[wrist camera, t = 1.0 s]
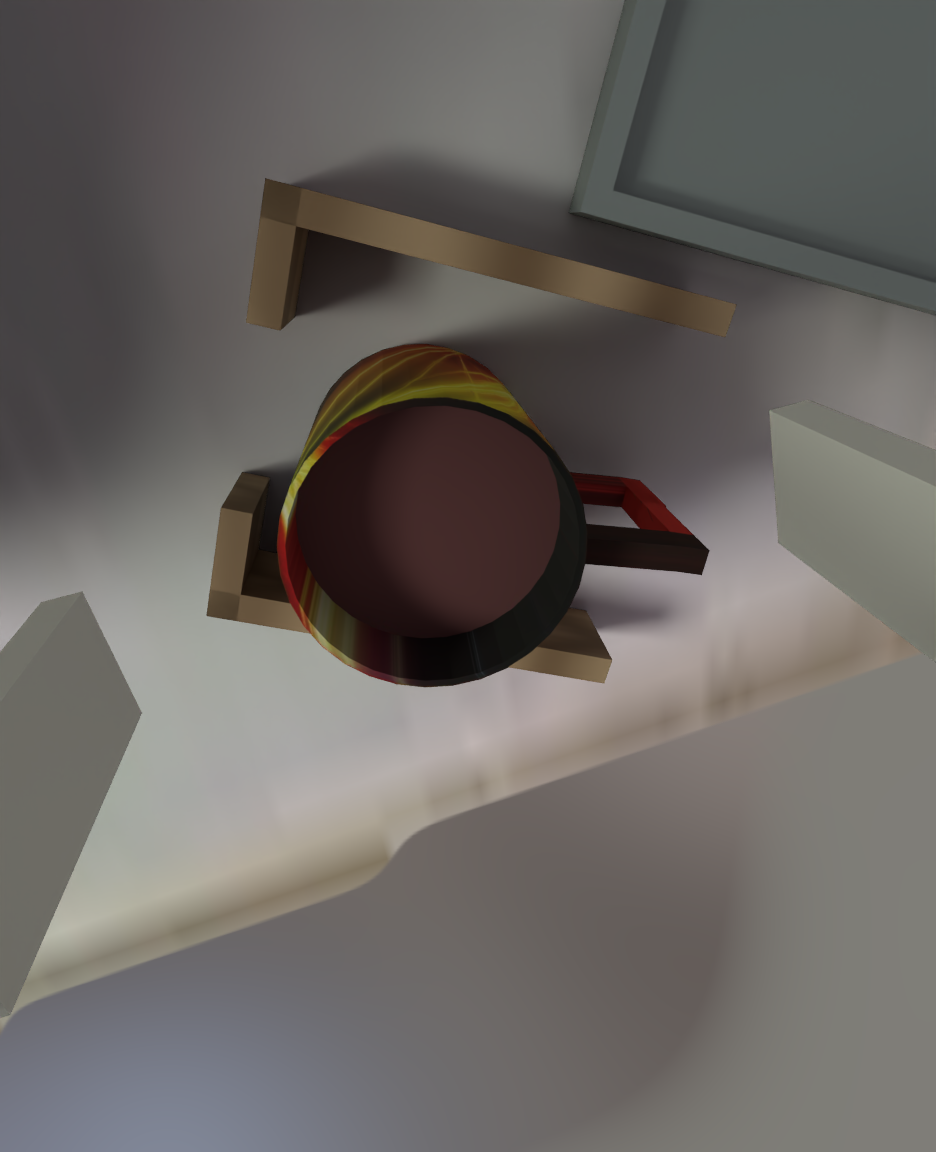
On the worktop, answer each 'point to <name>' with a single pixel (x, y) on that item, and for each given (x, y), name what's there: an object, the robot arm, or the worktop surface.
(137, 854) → the worktop surface
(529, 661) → the wooden frame
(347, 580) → the mug
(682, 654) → the worktop surface
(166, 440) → the worktop surface
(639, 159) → the tray
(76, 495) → the worktop surface
